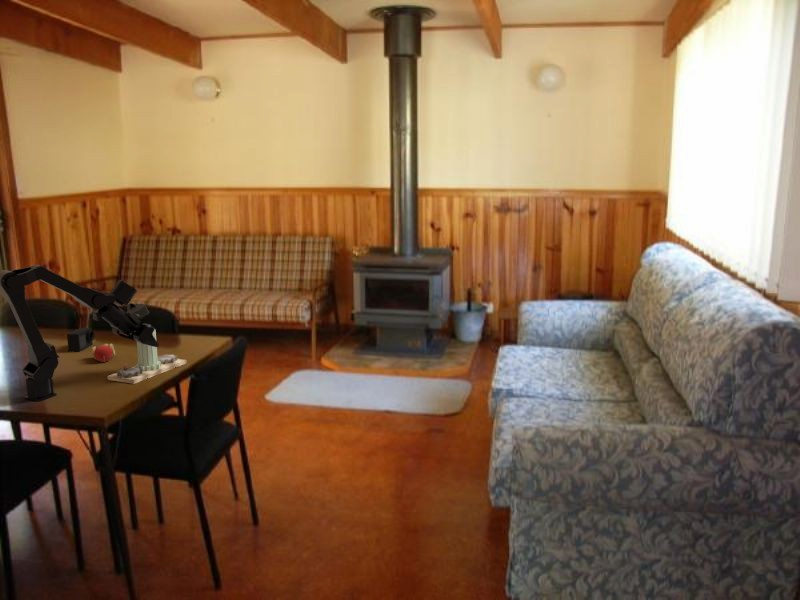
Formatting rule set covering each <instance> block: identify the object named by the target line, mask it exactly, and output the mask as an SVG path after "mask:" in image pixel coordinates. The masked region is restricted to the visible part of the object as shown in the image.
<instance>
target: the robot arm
mask: <svg viewBox="0 0 800 600" xmlns="http://www.w3.org/2000/svg"><path fill="white" fill-rule="evenodd" d="M38 281H41V282H42V283H43V282H44V284H47V285H50V286H51V287H53V288H55V289H57V290H59V291H62V292H63V293H66V294H68V295H70V296H71V297H72V298H73V299H75V301H77V302H78V303H80V304H81V305H82V306H83V307H86V308H89V309H93V310H94V311H92V320H94V321H97V322H99V321H100V320H101V319H103V320H104V321H106V322H107V323H108V324H109V326H110V327H111V333H112V334H114V335H116V336H118V337H120V338H123V339H127V340H131V341H134V342H136V343H137V342H139V343H142V344H145V345H149V346H153V347H157V348H158V347H159V342H158V341H157V338H156V339H155V338H154V336H153V332H154V330H156V329H155V327H154V326H153V325H151V324H149V323H146V322H145V323H141V319H143V318H144V317H145V316H148V315H150V311H149V310H148V307H147V306H146V304H143V303H136V304H135V303H132V302H131V300H133V298H135V296H136V294H137V293H138V290H137V289H136V288H135V287H133V285H132V286H131V285H130V284H129V283H127V282H125V281H123V280H121V279H118V280H117V282H116V283H115V285H114V287H113V288H111V290H110V291H109V292H106V291H104V292H102V291H99V290H96V289H93V288H89V287H85V286H82V285H80V284H77V283H76V282H74V281H72V280H69V279H68V278H66V277H63V276H62V275H60V274H58V273H56V272H53V271H52V270H49V269H48V268H46V267H45V266H43V265H39V264H34V265H33V264H32V265H30V266H27V267H22V268H17V269H16V268H15V269H12V270H6V269H2V270H0V295H1V296H2V297H3V299H4V300H6V302H7V303H8V305H9V307H10V309H11V311H12V313H13V316H14V318H15V320H16V322H17V324H18V326H19V329H20V331H21V333H22V336H23V338H24V340H25V343H26V345H27V357H28V360H29V361H28V362H27V363H26V365H25V366H24V367H23V369H22V370H21V371H22V373H23V375H24V377H27V378H25V384H26V386H25V387H26V393H27V394H26V395H25V396H23V398H24V399H26V400H31V401H36V402H40V401H41V402H42V401H43V400H46V399H49V398H52V397H54V396H57V395H58V393H57V392H55V389H54V380H53V376H54V373H55V370H56V369H57V367H58V366H59V359H58V358H60V355H58V353H57V350H56V346H55V345H54V344H51V343H48V342H46V341H45V340H44V338H43V336H42V334H41V332H40V330H39V326H38V325H37V322H36V321H35V318H34V316H33V313H32V312H31V309H30V306H29V304H28V302H27V300H26V288H25V286H28V285H31V284H33V283H35V282H38ZM123 306H126V308H127V309H126V311H124V310H123V309H122V308H120V307H123ZM140 323H141V324H140Z"/></svg>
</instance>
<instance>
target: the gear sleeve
mask: <svg viewBox="0 0 800 600" xmlns="http://www.w3.org/2000/svg"><path fill="white" fill-rule="evenodd" d="M156 330H157V329H155V330H154V332H153V336H154V338H155V339H156V340H157V335H156V334H157V332H156ZM136 349H137V350H136V351H137V362H136V363H135V364H134V366H135V368H136V367H139V369H142V371H145V370H147V371H150V370H157V369H159V368H161V362H160V361H158V358H157V356H158V347H153V346H149V345H145V344H142V343H139V342H137V341H136Z"/></svg>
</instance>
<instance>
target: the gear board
mask: <svg viewBox="0 0 800 600" xmlns="http://www.w3.org/2000/svg"><path fill="white" fill-rule="evenodd" d="M157 358H158V361H160V362H161V368H159V369H157V370H150V371H147V370H145V371H142V369H139V367H136V368H135V365H134V366H132V367H131V366H128V364H127V362H123V364H122V367H123V368H120V369H119V370H117V372H115V373H112V374H110V375H107V380H108V381H115V382H121V383H127V384H133V385H134V384H138V383H140V382H141V381H145V380H147V378H148V379H150V378H152V377H154V376H158V375H161V374H162V373H165V372H168V371H170V370H173V369H175V367H176V368H177V367H181V366H182V365H183V366H184V365H186V364H188V363H187V359H183V358H178V355H175V353H174V354H162V355H157Z"/></svg>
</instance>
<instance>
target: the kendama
mask: <svg viewBox="0 0 800 600" xmlns="http://www.w3.org/2000/svg"><path fill="white" fill-rule="evenodd" d="M91 349H92V350H91V351H92V355H93V358H94V360H96V361H98V362H99V363H106V361H107V362H108V361H110V360H111V359H112V358H113V357H114V356H116V351H115V348H114V343H109V344H108V343H103V344H102V345H99V346H92V347H91Z"/></svg>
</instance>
